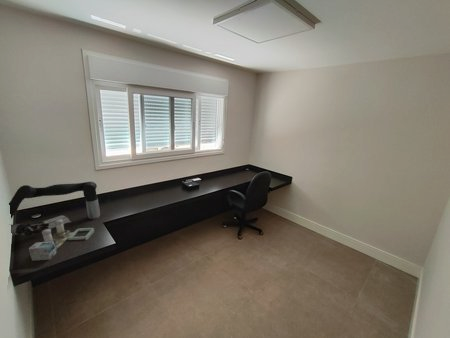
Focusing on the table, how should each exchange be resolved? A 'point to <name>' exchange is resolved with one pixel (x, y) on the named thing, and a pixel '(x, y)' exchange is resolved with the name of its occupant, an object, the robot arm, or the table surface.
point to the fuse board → (61, 238)
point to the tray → (91, 231)
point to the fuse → (47, 235)
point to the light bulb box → (42, 250)
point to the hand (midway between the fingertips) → (44, 227)
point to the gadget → (52, 221)
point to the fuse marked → (60, 227)
